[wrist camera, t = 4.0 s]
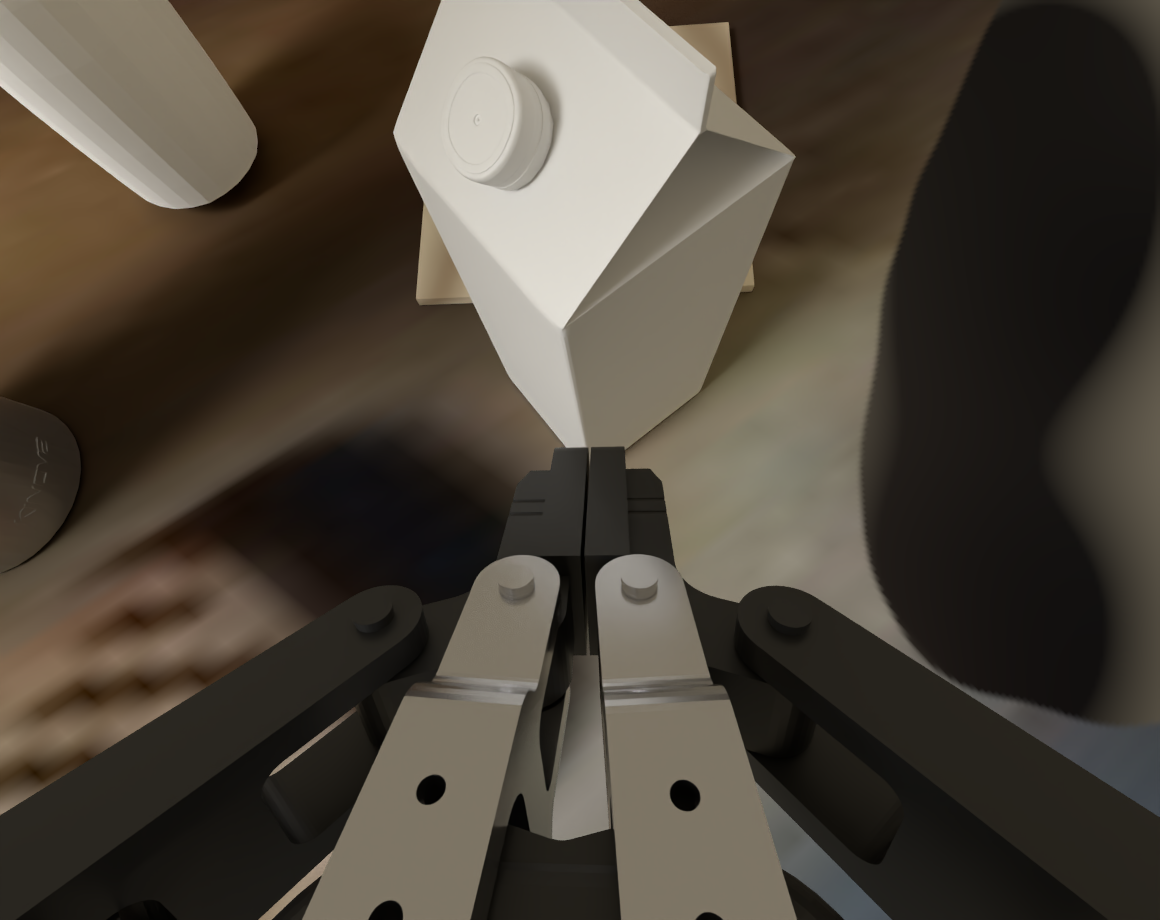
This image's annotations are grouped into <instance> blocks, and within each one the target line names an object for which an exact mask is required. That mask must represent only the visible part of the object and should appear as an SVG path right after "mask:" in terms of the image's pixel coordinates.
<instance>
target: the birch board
mask: <svg viewBox="0 0 1160 920" xmlns="http://www.w3.org/2000/svg"><path fill="white" fill-rule="evenodd" d="M669 27H670V28H671V29H672V30H674V31H675V32H676V33H677V34H678V35H679V36H681V37H682V38H683V39H684V40H685V41H686V42H688V43H689V44H690V45H691V46H692V47H693V48H695V49H696V50H697V51H698V52H699V53H700V54H702V55H703V56H704V57H705V58H706V59H708V60H709V61H710V62H711V63H712V64H713V65H715V66H716V78H715V83H714V85H715V86H716V87H717V88H719V89H720V90H721V91H722V92H723V93H724V94H725V95H727V96H728V97H729V98H730V99H731V100H732V101H734V102H735V103H736V93H735V83H734V73H733V63H732V53H731V43H730V32H729V22H724V23H711V24H697V25H683V26H669ZM736 104H737V103H736ZM753 287H754V275H753V265H752V264H751V267H750V269H749V272H748V274H747V276H746V279H745V281H744V284H743V286H742V289H741V291H740V292H752V290H753ZM416 300H417V302H418V303H419V305H435V304H460V303H473V302H472V300H471V298H470V295H469V293H468V291H467V289H466V287H465V285H464V283H463V281H462V279H461V277H460V275H459V273H458V271H457V269H456V267H455V265H454V263H453V261H452V259H451V256H450V254H449V252H448V250H447V248H446V246H445V244H444V242H443V240H442V238H441V236H440V234H439V232H438V230H437V228H436V226H435V224H434V222H433V220H432V217H431V215H430V213H429V211H428V209H427V207H426V205H425V203H424V207H423V219H422V231H421V243H420V255H419V267H418V280H417V292H416Z"/></svg>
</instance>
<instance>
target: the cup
mask: <svg viewBox="0 0 1160 920" xmlns="http://www.w3.org/2000/svg"><path fill="white" fill-rule="evenodd" d="M0 86H1V87H2V88H3V89H4V90H6V91H7V92H8V93H9V94H11V95H12V96H13V97H14V98H15V99H17V100H18V101H19V102H20V103H21V104H23V105H24V106H25V107H26V108H28V109H29V110H30V111H31V112H32V113H34V114H35V115H36V116H37V117H39V118H40V119H41V120H42V121H44V122H45V123H46V124H47V125H49V126H50V127H51V128H52V129H54V130H55V131H56V132H57V133H59V134H60V135H61V136H62V137H64V138H65V139H66V140H67V141H69V142H70V143H71V144H72V145H74V146H75V147H76V148H77V149H79V150H80V151H81V152H83V153H84V154H85V155H86V156H88V157H89V158H90V159H92V160H93V161H94V162H96V163H97V164H98V165H100V166H101V167H102V168H103V169H105V170H106V171H107V172H109V173H110V174H111V175H113V176H114V177H115V178H116V179H118V180H119V181H120V182H122V183H123V184H124V185H126V186H127V187H129V188H130V189H131V190H133V191H134V192H135V193H137V194H138V195H139V196H141V197H142V198H144V199H145V200H146V201H148V202H151V203H153V204H156V205H158V206H161V207H167V208H173V209H182V208H193V207H197V206H200V205H204V204H208V203H211V202H212V201H214V200H216V199H217V198H219V197H221V196H223V195H224V194H226V193H227V192H228V191H229V190H231V189H232V188H233V187H234V186H235V185H237V184H238V183H239V182H240V181H241V179H242V178H243V177H244V175H245V174H246V173H247V171H248V170H249V169H250V167H251V165H252V163H253V161H254V159H255V157H256V155H257V144H258V139H257V133H256V127H255V126H254V124H253V122H252V121H251V119H250V117H249V116H248V114H247V113H246V111H245V110H244V108H243V107H242V105H241V103H240V102H239V100H238V99H237V97H236V96H235V94H234V93H233V91H232V90H231V88H230V87H229V86H228V84H227V83H226V81H225V80H224V78H223V77H222V75H221V74H220V73H219V71H218V70H217V68H216V67H215V65H214V64H213V62H212V61H211V59H210V58H209V57H208V55H207V54H206V52H205V51H204V49H203V48H202V47H201V45H200V44H199V42H198V41H197V40H196V38H195V37H194V36H193V34H192V33H191V31H190V30H189V29H188V27H187V26H186V24H185V23H184V22H183V20H182V19H181V18H180V16H179V15H178V13H177V12H176V11H175V9H174V8H173V6H172V5H171V4H170V2H169V1H168V0H0Z"/></svg>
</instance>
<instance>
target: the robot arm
mask: <svg viewBox="0 0 1160 920" xmlns="http://www.w3.org/2000/svg"><path fill="white" fill-rule="evenodd" d="M80 474H81V463H80V452H79V449H78V446H77V443H76V440H75V438H74V436H73V435H72V433H71V431H70V430H69V428H68V427H67V426H66V425H65V424H64V423H63V422H62V421H61V420H59V419H58V418H57V417H56V416H54V415H52V414H50V413H48V412H45V411H43V410H41V409H38V408H35V407H32V406H29V405H26V404H22V403H19V402H16V401H13V400H10V399H7V398H4V397H1V396H0V573H2V572H4V571H7V570H9V569H11V568H13V567H16V566H18V565H19V564H21V563H22V562H24V561H25V560H27V559H28V558H30V557H31V556H33V555H34V554H35V553H36V552H38V551H39V550H40V549H41V548H42V547H43V546H44V545H45V544H46V543H47V542H48V541H49V540H50V539H51V538H52V537H53V535H54V534H55V533H56V532H57V530H58V529H59V528H60V526H61V525H62V524H63V522H64V520H65V519H66V517H67V515H68V513H69V511H70V509H71V508H72V506H73V503H74V500H75V497H76V494H77V491H78V488H79V481H80ZM588 627H589V644H590V655H598V656H599V676H600V700H601V714H602V729H603V744H604V758H605V773H606V788H607V802H608V818H609V829H608V830H604V831H601V832H597V833H593V834H589V835H586V836H582V837H578V838H575V839H571V840H565V841H560V840H554V839H552V816H553V804H554V797H555V790H556V784H557V777H558V771H559V764H560V758H561V751H562V745H563V739H564V732H565V726H566V719H567V713H568V706H569V700H570V682H571V678H572V669H573V655H586V653H587V631H588ZM353 707H356V710H357V711H356V712H355V713H354V714H352V715H351V716H350V717H348V718H347V719H346V720H345V721H343V722H342V723H341V724H339V725H338V726H337V727H336V728H334V729H333V730H332V731H330V732H329V733H328V734H326V735H325V736H324V737H323V738H321V739H320V740H319V741H317V742H316V743H315V744H314V745H312V746H311V747H310V748H308V749H307V750H306V751H305V752H303V753H302V754H301V755H299V756H298V757H297V758H295V759H294V760H293V761H292V762H290V763H289V764H288V765H286V766H285V767H284V768H283V769H281V770H280V771H278V772H277V773H275V774H273V775H271V776H269V775H270V774H271V773H272V771H273V770H274V769H275V768H276V767H277V766H278V765H279V764H280V763H282V762H283V761H284V760H285V759H287V758H288V757H289V756H291V755H292V754H293V753H294V752H296V751H297V750H298V749H300V748H301V747H302V746H304V745H305V744H306V743H308V742H309V741H310V740H311V739H313V738H314V737H315V736H317V735H318V734H319V733H321V732H322V731H323V730H325V729H326V728H327V727H328V726H330V725H331V724H332V723H334V722H335V721H336V720H338V719H339V718H340V717H342V716H343V715H344V714H345V713H347V712H348V711H349V710H351V709H352V708H353ZM268 776H269V777H268ZM755 782H756V783H757V784H758V785H759V786H760V787H761V788H762V789H763V790H764V791H765V792H766V793H767V794H768V795H769V796H770V797H771V798H772V799H773V800H774V801H775V802H776V803H777V804H778V805H779V806H780V807H781V808H782V809H783V810H784V811H785V812H786V813H787V814H788V815H789V816H790V817H791V818H792V819H793V820H794V821H795V822H796V823H797V824H798V825H799V826H800V827H801V828H802V829H803V830H804V831H805V832H806V833H807V834H808V835H809V836H810V837H811V838H812V839H813V840H814V841H815V842H816V843H817V844H818V845H819V846H820V847H821V848H822V849H823V850H824V851H825V852H826V853H827V854H828V855H829V856H830V857H831V858H832V859H833V860H834V861H835V862H836V863H837V864H838V865H839V866H840V867H841V868H842V869H843V870H844V871H845V872H846V873H847V874H848V876H849V877H850V878H851V879H852V880H853V881H854V882H855V883H856V884H857V885H858V886H859V887H860V888H861V889H862V890H863V891H864V892H865V893H866V894H867V895H868V896H869V897H870V898H871V899H872V900H873V901H874V902H875V903H876V904H877V905H878V906H879V907H880V908H881V909H882V910H883V911H884V912H885V913H886V914H887V915H888V916H889V917H890V918H891V919H892V920H1160V817H1158V816H1157V815H1155V814H1154V813H1152V812H1150V811H1149V810H1147V809H1146V808H1144V807H1143V806H1141V805H1139V804H1138V803H1136V802H1135V801H1133V800H1132V799H1130V798H1128V797H1127V796H1125V795H1124V794H1122V793H1121V792H1119V791H1118V790H1116V789H1114V788H1113V787H1111V786H1110V785H1108V784H1107V783H1105V782H1103V781H1102V780H1100V779H1099V778H1097V777H1096V776H1094V775H1093V774H1091V773H1089V772H1088V771H1086V770H1085V769H1083V768H1082V767H1080V766H1078V765H1077V764H1075V763H1074V762H1072V761H1071V760H1069V759H1068V758H1066V757H1064V756H1063V755H1061V754H1060V753H1058V752H1057V751H1055V750H1053V749H1052V748H1050V747H1049V746H1047V745H1046V744H1044V743H1043V742H1041V741H1039V740H1038V739H1036V738H1035V737H1033V736H1032V735H1030V734H1028V733H1027V732H1025V731H1024V730H1022V729H1021V728H1019V727H1018V726H1016V725H1014V724H1013V723H1011V722H1010V721H1008V720H1007V719H1005V718H1003V717H1002V716H1000V715H999V714H997V713H996V712H994V711H993V710H991V709H989V708H988V707H986V706H985V705H983V704H982V703H980V702H978V701H977V700H975V699H974V698H972V697H971V696H969V695H968V694H966V693H964V692H963V691H961V690H960V689H958V688H957V687H955V686H953V685H952V684H950V683H949V682H947V681H946V680H944V679H943V678H941V677H939V676H938V675H936V674H935V673H933V672H932V671H930V670H928V669H927V668H925V667H924V666H922V665H921V664H919V663H918V662H916V661H914V660H913V659H911V658H910V657H908V656H907V655H905V654H903V653H902V652H900V651H899V650H897V649H896V648H894V647H893V646H891V645H889V644H888V643H886V642H885V641H883V640H882V639H880V638H878V637H877V636H875V635H874V634H872V633H871V632H869V631H868V630H866V629H864V628H863V627H861V626H860V625H858V624H857V623H855V622H853V621H852V620H850V619H849V618H847V617H846V616H844V615H842V614H841V613H839V612H838V611H836V610H835V609H833V608H832V607H830V606H828V605H827V604H825V603H824V602H822V601H821V600H819V599H817V598H816V597H814V596H812V595H810V594H808V593H806V592H804V591H801V590H798V589H795V588H790V587H785V586H766V587H761V588H758V589H755V590H753V591H751V592H749V593H748V594H747V595H745V596H744V597H743V599H742V600H741V601H740V603H736V602H732V601H728V600H724V599H720V598H716V597H713V596H709V595H707V594H705V593H702V592H700V591H698V590H697V589H695V588H693V587H692V586H691V585H689V584H688V583H687V582H686V581H685V580H684V579H683V578H682V576H681V575H680V573H679V572H678V570H677V569H676V566H675V562H674V555H673V549H672V543H671V536H670V530H669V524H668V517H667V514H666V505H665V501H664V492H663V486H662V482H661V480H660V479H659V478H658V477H657V476H656V475H655V474H654V473H653V472H652V471H651V469H626V465H625V447H624V446H615V447H591V454H590V461H589V448H588V447H570V448H555V449H554V454H553V459H552V465H551V470H549V471H530V472H529V473H528V474H527V475H526V476H525V477H524V478H523V479H522V480H521V481H520V482H519V483H518V484H517V488H516V491H515V495H514V499H513V503H512V506H511V510H510V516H509V517H508V521H507V524H506V528H505V532H504V535H503V539H502V543H501V546H500V550H499V554H498V557H497V561H496V562H494V563H492V564H490V565H489V566H487V567H486V568H485V569H484V570H483V571H481V573H480V574H479V575H478V576H477V578H476V580H475V582H474V584H473V587H472V589H471V591H469V592H468V593H465V594H463V595H460V596H457V597H454V598H451V599H447V600H443V601H439V602H435V603H431V604H427V605H423V606H422V604H421V600H420V599H419V597H418V595H417V594H416V593H415V592H413V591H412V590H410V589H408V588H405V587H401V586H392V585H389V586H380V587H375V588H372V589H368V590H365V591H363V592H361V593H359V594H357V595H355V596H353V597H351V598H350V599H348V600H346V601H345V602H343V603H342V604H340V605H338V606H337V607H335V608H334V609H332V610H330V611H329V612H327V613H326V614H324V615H322V616H321V617H319V618H317V619H316V620H314V621H313V622H311V623H309V624H308V625H306V626H305V627H303V628H301V629H300V630H298V631H297V632H295V633H293V634H292V635H290V636H288V637H287V638H285V639H284V640H282V641H280V642H279V643H277V644H276V645H274V646H272V647H271V648H269V649H268V650H266V651H264V652H263V653H261V654H259V655H258V656H256V657H255V658H253V659H251V660H250V661H248V662H247V663H245V664H243V665H242V666H240V667H239V668H237V669H235V670H234V671H232V672H230V673H229V674H227V675H226V676H224V677H222V678H221V679H219V680H218V681H216V682H214V683H213V684H211V685H210V686H208V687H206V688H205V689H203V690H201V691H200V692H198V693H197V694H195V695H193V696H192V697H190V698H189V699H187V700H185V701H184V702H182V703H181V704H179V705H177V706H176V707H174V708H172V709H171V710H169V711H168V712H166V713H164V714H163V715H161V716H160V717H158V718H156V719H155V720H153V721H152V722H150V723H148V724H147V725H145V726H143V727H142V728H140V729H139V730H137V731H135V732H134V733H132V734H131V735H129V736H127V737H126V738H124V739H123V740H121V741H119V742H118V743H116V744H114V745H113V746H111V747H110V748H108V749H106V750H105V751H103V752H102V753H100V754H98V755H97V756H95V757H94V758H92V759H90V760H89V761H87V762H86V763H84V764H82V765H81V766H79V767H77V768H76V769H74V770H73V771H71V772H69V773H68V774H66V775H65V776H63V777H61V778H60V779H58V780H57V781H55V782H53V783H52V784H50V785H48V786H47V787H45V788H44V789H42V790H40V791H39V792H37V793H36V794H34V795H32V796H31V797H29V798H28V799H26V800H24V801H23V802H21V803H19V804H18V805H16V806H15V807H13V808H11V809H10V810H8V811H7V812H5V813H3V814H2V815H0V920H258V919H259V918H260V917H261V916H263V915H264V914H265V913H266V912H267V911H268V910H269V909H270V908H271V907H272V906H273V905H274V904H276V903H277V902H278V901H279V900H280V899H281V898H282V897H283V896H284V895H285V894H286V893H287V892H288V891H290V890H291V889H292V888H293V887H294V886H295V885H296V884H297V883H298V882H299V881H300V880H301V879H302V878H304V877H305V876H306V875H307V874H308V873H309V872H310V871H311V870H312V869H313V868H314V867H315V866H317V865H318V864H319V863H320V862H321V861H322V860H323V859H324V858H325V857H326V856H327V855H328V854H329V853H331V852H332V851H333V850H334V851H333V853H332V855H331V857H330V860H329V862H328V864H327V866H326V868H325V871H324V873H323V875H322V876H321V877H319V878H318V879H317V880H315V881H314V882H313V883H312V884H311V885H309V886H308V887H307V888H306V889H304V890H303V891H302V892H301V893H300V894H298V895H297V896H296V897H295V898H294V899H293V900H292V901H291V902H290V903H289V904H288V905H287V906H286V907H285V908H284V909H283V910H281V911H280V912H279V913H278V914H277V915H276V916H275V917H274V918H273V919H272V920H844V919H843V918H842V917H841V916H840V915H839V914H838V913H837V912H836V911H835V910H834V909H833V908H832V907H831V906H829V905H828V904H827V903H826V902H825V901H824V900H823V899H822V898H821V897H820V896H819V895H818V894H817V893H815V892H814V891H813V890H811V889H810V888H809V887H807V886H806V885H805V884H803V883H802V882H801V881H800V880H798V879H797V878H796V877H794V876H792V875H791V874H789V873H788V872H786V871H784V870H783V869H781V866H780V862H779V859H778V856H777V852H776V849H775V846H774V843H773V839H772V836H771V833H770V829H769V826H768V823H767V819H766V816H765V813H764V810H763V806H762V803H761V800H760V796H759V793H758V790H757V787H756V783H755Z"/></svg>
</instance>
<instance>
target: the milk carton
mask: <svg viewBox="0 0 1160 920" xmlns="http://www.w3.org/2000/svg"><path fill="white" fill-rule="evenodd" d="M715 78H716V66H715V65H713V64H712V63H711V62H710V61H709V60H708V59H706V58H705V57H704V56H703V55H702V54H700V53H699V52H698V51H697V50H696V49H695V48H693V47H692V46H691V45H690V44H689V43H688V42H686V41H685V40H684V39H683V38H682V37H681V36H679V35H678V34H677V33H676V32H675V31H674V30H672V29H671V28H670V27H669V26H668V25H667V24H665V23H664V22H663V21H662V20H661V19H659V18H658V17H657V16H656V15H655V14H654V13H652V12H651V11H650V10H649V9H648V8H647V7H645V6H644V5H643V4H642V3H641V2H640V1H638V0H441V3H440V6H439V8H438V11H437V14H436V16H435V19H434V22H433V24H432V27H431V30H430V33H429V35H428V38H427V41H426V43H425V46H424V49H423V51H422V54H421V57H420V60H419V62H418V65H417V68H416V70H415V73H414V76H413V78H412V81H411V84H410V87H409V89H408V92H407V95H406V97H405V100H404V103H403V105H402V108H401V111H400V114H399V116H398V119H397V122H396V125H395V128H394V132H393V134H394V137H395V140H396V143H397V146H398V149H399V151H400V153H401V155H402V158H403V160H404V162H405V164H406V166H407V168H408V170H409V172H410V174H411V176H412V178H413V180H414V183H415V185H416V187H417V189H418V191H419V193H420V195H421V197H422V199H423V201H424V203H425V205H426V207H427V209H428V211H429V213H430V215H431V217H432V220H433V222H434V224H435V226H436V228H437V230H438V232H439V234H440V236H441V238H442V240H443V242H444V244H445V246H446V248H447V250H448V252H449V254H450V256H451V259H452V261H453V263H454V265H455V267H456V269H457V271H458V273H459V275H460V277H461V279H462V281H463V283H464V285H465V287H466V289H467V291H468V293H469V295H470V298H471V300H472V302H473V304H474V306H475V308H476V310H477V312H478V314H479V316H480V318H481V320H482V322H483V324H484V326H485V328H486V330H487V332H488V335H489V337H490V339H491V341H492V343H493V345H494V347H495V349H496V351H497V353H498V355H499V357H500V359H501V361H502V363H503V365H504V367H505V369H506V371H507V373H508V375H509V377H510V378H511V380H512V381H513V382H514V384H515V385H516V386H517V387H518V389H519V390H520V391H521V392H522V394H523V395H524V396H525V397H526V398H527V400H528V401H529V402H530V403H531V405H532V406H533V407H534V408H535V410H536V411H537V412H538V413H539V414H540V416H541V417H542V418H543V419H544V421H545V422H546V423H547V424H548V425H549V427H550V428H551V429H552V430H553V432H554V433H555V434H556V435H557V437H558V438H559V439H560V440H561V441H562V443H563V444H564V445H565V446H566V448H570V447H588V448H589V461H590V454H591V447H615V446H624V447H625V450H626V449H627V448H628V447H630V446H631V445H632V444H633V443H635V442H636V441H637V440H639V439H640V438H641V437H642V436H644V435H645V434H646V433H648V432H649V431H650V430H651V429H653V428H654V427H655V426H657V425H658V424H659V423H660V422H662V421H663V420H664V419H666V418H667V417H668V416H669V415H671V414H672V413H673V412H674V411H676V410H677V409H678V408H680V407H681V406H682V405H683V404H685V403H686V402H687V401H689V400H690V399H691V398H692V397H694V396H695V395H696V394H698V393H699V392H700V390H701V388H702V385H703V383H704V380H705V378H706V375H707V373H708V370H709V368H710V366H711V363H712V361H713V358H714V356H715V353H716V351H717V348H718V346H719V343H720V341H721V338H722V336H723V333H724V331H725V328H726V326H727V323H728V321H729V319H730V316H731V314H732V311H733V309H734V306H735V304H736V301H737V299H738V296H739V294H740V291H741V289H742V286H743V284H744V281H745V279H746V276H747V274H748V272H749V269H750V267H751V264H752V262H753V259H754V257H755V254H756V252H757V249H758V247H759V244H760V242H761V239H762V237H763V234H764V232H765V229H766V227H767V224H768V222H769V220H770V217H771V215H772V212H773V210H774V207H775V205H776V202H777V200H778V197H779V195H780V192H781V190H782V187H783V185H784V182H785V180H786V177H787V175H788V173H789V170H790V168H791V165H792V163H793V160H794V158H795V157H796V156H795V155H794V154H793V153H792V152H791V151H790V150H789V149H788V148H786V147H785V146H784V145H783V144H782V143H781V142H780V141H778V140H777V139H776V138H775V137H774V136H773V135H772V134H770V133H769V132H768V131H767V130H766V129H765V128H764V127H762V126H761V125H760V124H759V123H758V122H757V121H755V120H754V119H753V118H752V117H751V116H750V115H749V114H747V113H746V112H745V111H744V110H743V109H742V108H740V107H739V106H738V105H737V104H736V103H735V102H734V101H732V100H731V99H730V98H729V97H728V96H727V95H725V94H724V93H723V92H722V91H721V90H720V89H719V88H717V87H716V86H715V85H714V83H715Z"/></svg>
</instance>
